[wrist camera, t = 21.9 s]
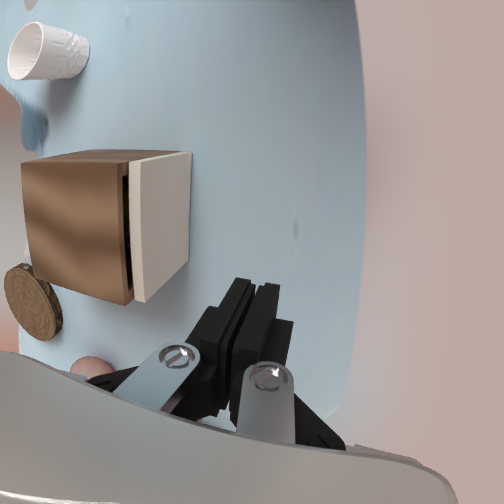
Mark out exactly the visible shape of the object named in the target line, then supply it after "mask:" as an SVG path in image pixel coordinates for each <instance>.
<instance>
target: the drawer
mask: <svg viewBox="0 0 504 504" xmlns="http://www.w3.org/2000/svg"><path fill="white" fill-rule="evenodd" d="M191 164H192V152H179V153H173V154H167V155H161V156H156V157H151V158H145V159H140V160H135V161H130V162H129V174H128V175H125V176H122V183H126V184H129V218H130V226H128V227H127V228H125V229H124V246H129V247H131V259H132V273H133V285H134V296H135V300H136V301H140V302H144V303H145V302H146V301H147V300H148V299H149V298H150V297H151V296H152V295H153V294H154V293H156V292H157V291H158V290H159V289H160V288H161V287H162V286H163V285H164V284H165V283H166V282H167V281H168V280H169V279H170V278H171V277H172V276H173V275H174V274H175V273H176V272H177V271H178V270H179V269H180V268H181V267H182V266H183V265H184V264H185V263H186V262H187V261H188V260H189V214H190V186H191Z"/></svg>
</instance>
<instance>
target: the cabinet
mask: <svg viewBox="0 0 504 504" xmlns="http://www.w3.org/2000/svg"><path fill="white" fill-rule="evenodd" d="M173 153H179V151H157V150H86V151H80V152H74V153H69V154H63V155H58V156H52V157H47V158H42V159H38V160H33V161H28V162H24V163H21V177H22V192H23V204H24V214H25V222H26V230H27V238H28V244H29V251H30V257H31V262H32V268H33V273H34V278H37V279H40V280H43V281H46V282H49V283H52V284H55V285H58V286H61V287H64V288H67V289H70V290H73V291H76V292H79V293H82V294H86V295H89V296H92V297H95V298H99V299H102V300H106V301H109V302H112V303H116V304H119V305H123V306H126V305H127V304H128V303H129V302H130V301H131V300H132V299H134V298H135V296H134V285H133V273H132V259H131V247H129V246H124V227H123V195H122V176H125V175H128V174H129V162H130V161H135V160H140V159H145V158H151V157H156V156H161V155H167V154H173Z"/></svg>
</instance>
